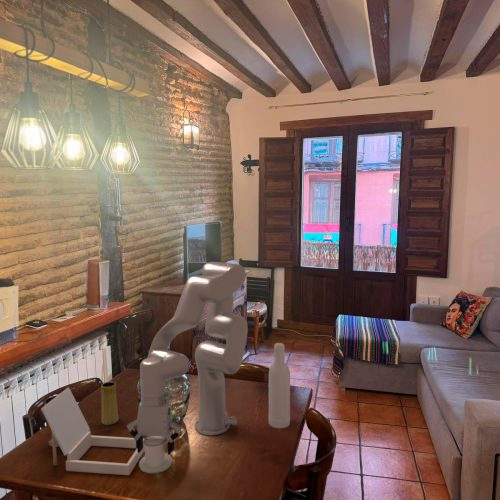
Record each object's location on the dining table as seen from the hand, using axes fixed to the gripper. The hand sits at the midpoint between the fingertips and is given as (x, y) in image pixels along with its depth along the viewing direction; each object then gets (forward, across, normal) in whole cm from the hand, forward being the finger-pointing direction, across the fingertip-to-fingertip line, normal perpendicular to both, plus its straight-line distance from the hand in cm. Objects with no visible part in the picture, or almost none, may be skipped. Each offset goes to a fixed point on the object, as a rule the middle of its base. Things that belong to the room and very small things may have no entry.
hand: (155, 451), depth 135 cm
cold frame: (+4, +20, -1) cm, 20 cm away
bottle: (+4, -37, -29) cm, 47 cm away
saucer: (+4, 0, 0) cm, 4 cm away
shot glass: (+3, 0, 0) cm, 4 cm away
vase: (+4, +26, -24) cm, 36 cm away
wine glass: (+4, +37, -9) cm, 38 cm away
